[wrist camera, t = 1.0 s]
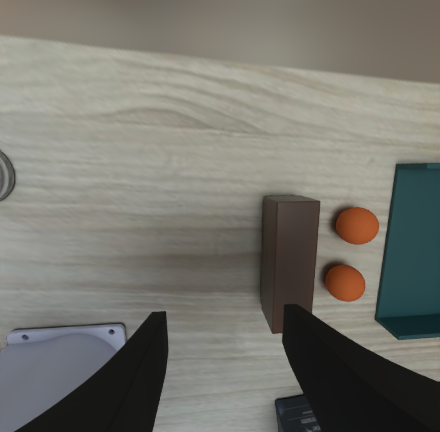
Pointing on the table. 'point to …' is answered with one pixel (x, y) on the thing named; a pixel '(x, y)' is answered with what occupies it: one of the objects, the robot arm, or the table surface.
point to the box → (296, 415)
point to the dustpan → (412, 255)
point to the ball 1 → (357, 225)
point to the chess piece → (5, 177)
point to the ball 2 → (345, 283)
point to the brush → (288, 255)
